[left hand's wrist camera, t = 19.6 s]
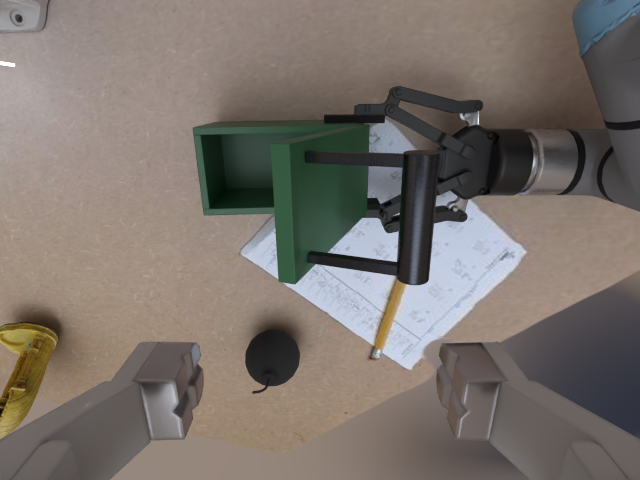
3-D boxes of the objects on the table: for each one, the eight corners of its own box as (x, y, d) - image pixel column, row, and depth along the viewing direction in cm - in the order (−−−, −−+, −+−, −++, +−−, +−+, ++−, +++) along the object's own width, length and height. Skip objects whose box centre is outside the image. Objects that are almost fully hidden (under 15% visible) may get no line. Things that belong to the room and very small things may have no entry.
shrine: (91, 358, 60) (22, 437, 46) (50, 377, 62) (-29, 459, 47) (43, 301, 57) (-48, 368, 43) (1, 322, 58) (-101, 393, 44)
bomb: (309, 330, 59) (306, 385, 47) (288, 368, 61) (281, 429, 50) (261, 311, 57) (247, 363, 46) (243, 351, 60) (225, 409, 49)
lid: (278, 281, 25) (422, 306, 22) (270, 143, 22) (436, 147, 19) (355, 212, 41) (447, 220, 37) (357, 124, 38) (457, 125, 34)
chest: (222, 193, 50) (203, 215, 40) (214, 122, 47) (192, 127, 37) (348, 189, 51) (360, 210, 41) (349, 119, 48) (362, 124, 38)
